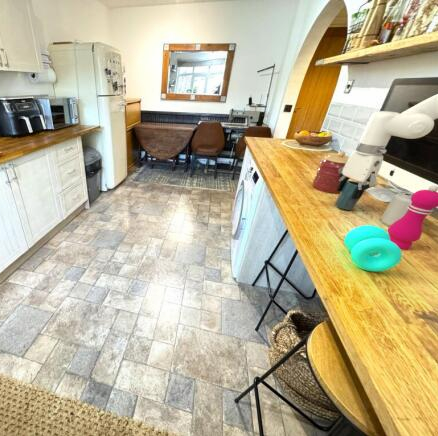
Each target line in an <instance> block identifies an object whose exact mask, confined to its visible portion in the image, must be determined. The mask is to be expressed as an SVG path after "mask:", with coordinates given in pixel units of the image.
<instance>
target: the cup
mask: <svg viewBox="0 0 438 436" xmlns="http://www.w3.org/2000/svg"><path fill="white" fill-rule="evenodd" d="M356 189H358V182H357V181H355V180H348V181H347V182H346V183H345V185H344V187H343V189H342V190H341V192H340V193H338V196H337V197H336V199H335V201H334V206H335V207H336V208H337V207H338V208H339V209H342V210H347V211H353V210H354V209H355V207H356V206H357V204H358V203H359V201H360V199H352V196H353V194H354V192H355V190H356ZM364 191H365V190H364ZM365 192H366V191H365ZM363 193H364V192H363ZM364 194H365V193H364Z"/></svg>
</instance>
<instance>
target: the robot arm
mask: <svg viewBox="0 0 438 436" xmlns="http://www.w3.org/2000/svg"><path fill="white" fill-rule="evenodd" d="M437 119H438V93H437V94H434V95H432V96H430V97H428V98H426V99H424V100H422V101H421V102H418V103H417V104H415V105H413V106H411V107H410V108H408V109H406V110H404V111H402V112H401V113H400V112H396V111H389V110H388V111H386V110H378V111H374V112H373V113H372V114H371V116H370V117H369V120H368V122H367V124H366V126H365V128H364V130H363V132H362V135H361V137H360V139H359V142H358V144H357V146H356V148H355V149H354V150H353V151H352V153H351V154H350V155H349V156H348V157H349V159H348V160H347V162H346V164H345V166H344V167H342V168H340V169H338V171H339V177H340V179H339V181H340V184H339V186H338V188H337V191H341V190H342V189H343V187H344V185H345V183H346V182H347V181H350V180H353V181H355V182H357V181H358V189H356V190H355V192H354V194H353V196H352V199H359V200H360V199H361V198H362V196H363V195H364V194H363V192H364V190H366V191H367V190H368V189H371V188H372V187H375V186H377V185H379V183H378V179H377V176H378V175H379V172H380V170H381V168H382V164H383V162H384V161H383V160H384V155H383V154H386V153H387V149H386V148H387V145H388V143H389V141H390V140H391V137H392V136H393V137H399V138H403V139H410V140H413V139H420V138H422V137H424V136H426V135H428V134H430V133H431V131H432V130H433V129H434V126H435V120H437ZM368 182H370V183H369V184H368ZM363 183H364V184H363Z"/></svg>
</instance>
